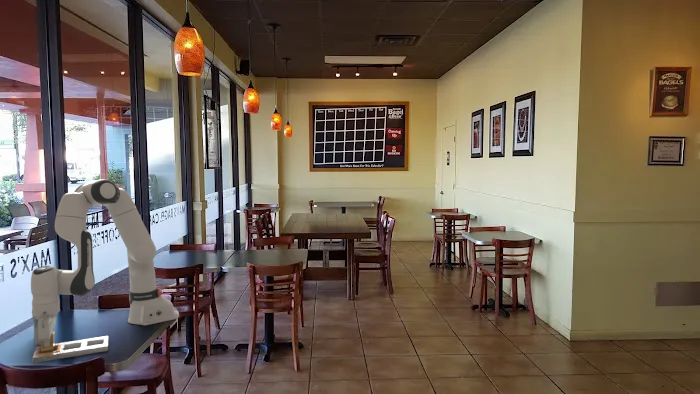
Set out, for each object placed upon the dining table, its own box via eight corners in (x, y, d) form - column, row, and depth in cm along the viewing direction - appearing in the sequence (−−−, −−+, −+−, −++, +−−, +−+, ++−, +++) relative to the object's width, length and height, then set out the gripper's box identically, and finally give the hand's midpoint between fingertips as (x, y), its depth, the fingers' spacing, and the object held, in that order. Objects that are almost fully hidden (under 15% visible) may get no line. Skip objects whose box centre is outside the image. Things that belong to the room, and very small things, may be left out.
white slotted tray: (108, 340, 198) (108, 335, 198) (107, 350, 188) (107, 345, 187) (37, 351, 187) (37, 346, 187) (32, 363, 177) (32, 357, 176)
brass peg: (54, 350, 186) (54, 330, 186) (52, 354, 183) (53, 334, 182) (42, 351, 185) (42, 331, 184) (40, 355, 181) (41, 335, 180)
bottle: (39, 340, 199) (36, 293, 197) (56, 339, 199) (53, 293, 198) (30, 346, 192) (27, 298, 190) (47, 346, 193) (44, 298, 191)
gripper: (52, 315, 174) (54, 351, 176) (58, 300, 193) (60, 333, 194) (32, 318, 172) (34, 355, 173) (40, 302, 190) (42, 336, 191)
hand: (48, 343), depth 184 cm, fingers closed on brass peg, 4 cm apart
